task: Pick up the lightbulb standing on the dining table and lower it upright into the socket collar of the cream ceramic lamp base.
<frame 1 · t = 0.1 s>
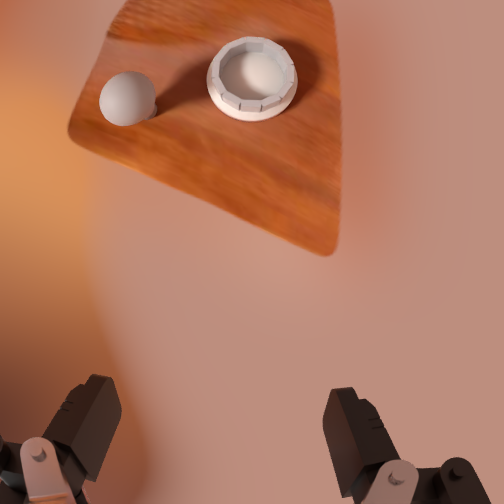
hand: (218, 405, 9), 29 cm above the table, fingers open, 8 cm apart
lightbulb: (150, 112, 33), on the table
lamp base: (251, 82, 32), on the table
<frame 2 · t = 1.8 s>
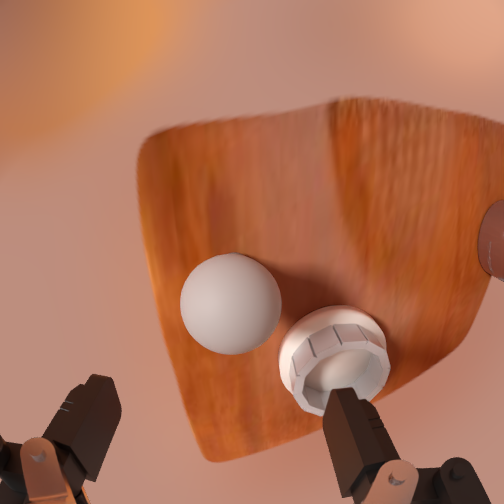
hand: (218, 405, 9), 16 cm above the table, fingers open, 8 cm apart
lightbulb: (235, 263, 25), on the table
lamp base: (330, 352, 28), on the table
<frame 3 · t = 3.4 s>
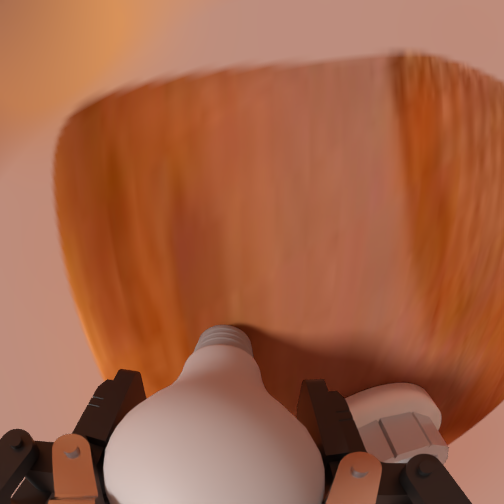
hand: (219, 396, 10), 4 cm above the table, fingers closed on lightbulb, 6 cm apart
lightbulb: (225, 336, 14), on the table, touching gripper
lamp base: (365, 436, 17), on the table
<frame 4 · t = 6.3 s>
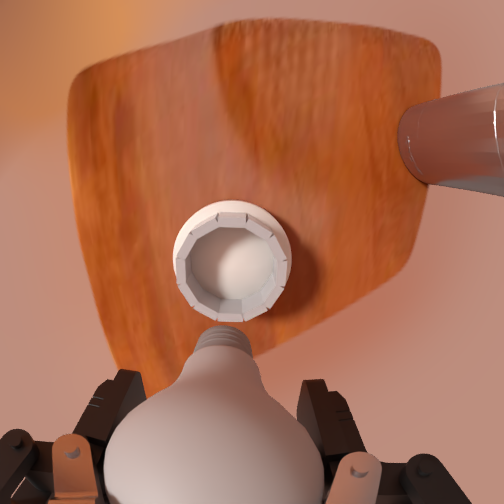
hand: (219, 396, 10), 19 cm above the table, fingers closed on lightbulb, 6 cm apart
lightbulb: (224, 336, 14), point 15 cm above the table, touching gripper
lamp base: (232, 255, 28), on the table
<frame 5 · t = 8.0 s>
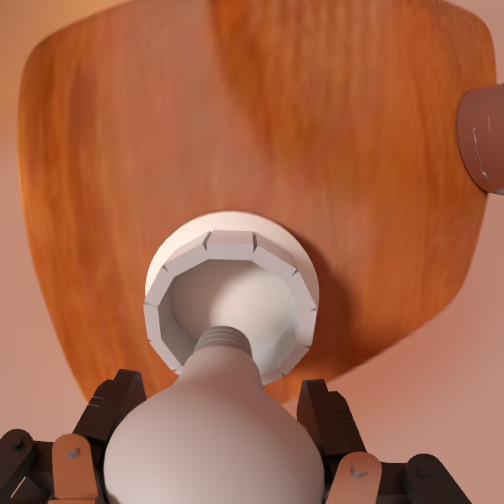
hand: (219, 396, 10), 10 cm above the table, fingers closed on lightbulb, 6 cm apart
lightbulb: (224, 336, 14), point 6 cm above the table, touching gripper
lamp base: (232, 290, 20), on the table
when the fingers open (7 cm above the table, at t = 9.2 s): lightbulb stays where it is, resting on lamp base.
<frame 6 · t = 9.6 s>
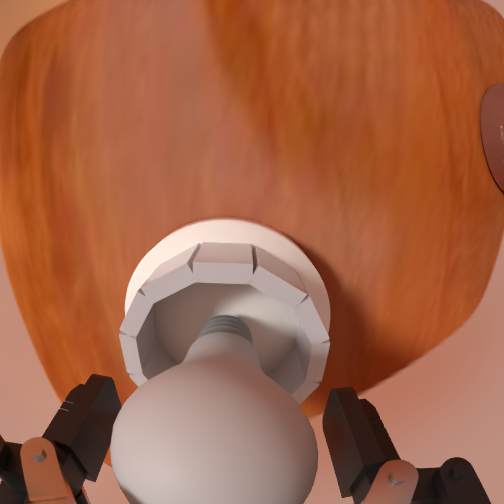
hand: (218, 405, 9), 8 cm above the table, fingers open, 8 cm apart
lightbulb: (227, 326, 15), point 2 cm above the table, touching lamp base
lamp base: (227, 311, 17), on the table
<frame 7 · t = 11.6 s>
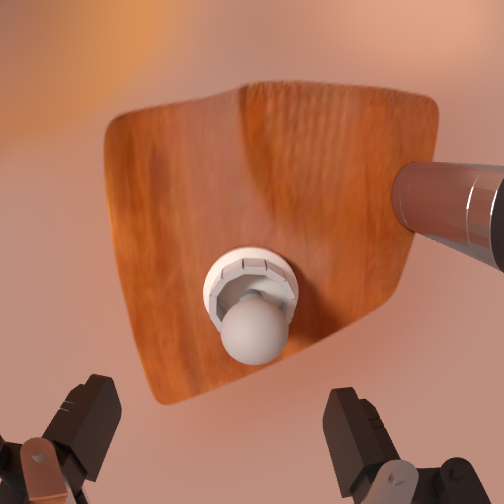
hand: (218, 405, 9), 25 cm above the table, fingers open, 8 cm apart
lightbulb: (251, 295, 33), point 2 cm above the table, touching lamp base
lamp base: (250, 289, 35), on the table
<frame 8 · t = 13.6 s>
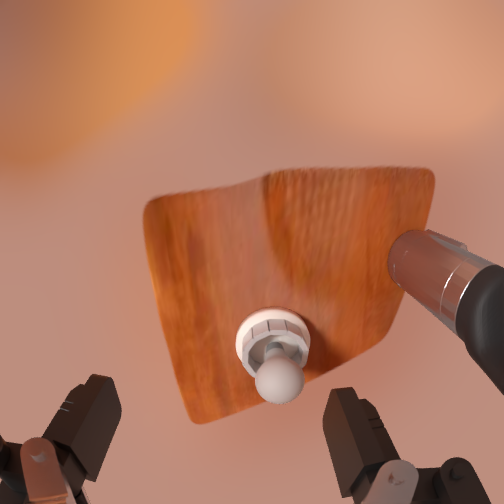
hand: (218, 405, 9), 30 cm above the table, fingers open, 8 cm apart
lightbulb: (273, 344, 41), point 2 cm above the table, touching lamp base
lamp base: (272, 338, 43), on the table
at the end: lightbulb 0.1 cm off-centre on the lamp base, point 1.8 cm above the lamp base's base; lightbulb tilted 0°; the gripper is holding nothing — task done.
